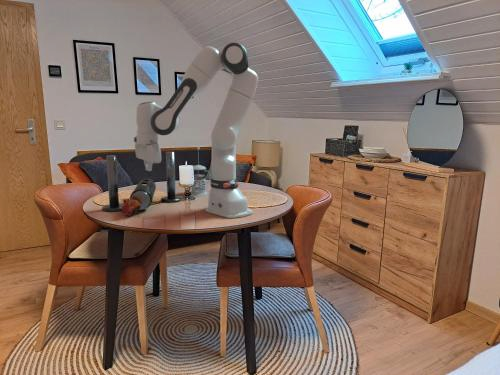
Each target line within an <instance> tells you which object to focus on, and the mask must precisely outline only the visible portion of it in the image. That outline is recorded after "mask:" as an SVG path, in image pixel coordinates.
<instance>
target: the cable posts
mask: <svg viewBox="0 0 500 375" xmlns="http://www.w3.org/2000/svg"><path fill="white" fill-rule="evenodd" d="M105 158H106V172H107V186H108V188H107V189H108V201H109V203H108V204H106V205H103V206H102V211H103V212H106V213H117V212H123V210H122V207H123V205H124V204H123V203H120V200H119V198H120V197H119V184H118V183H119V181H118V168H117V167H118V166H117V155H113V154H111V155H106V157H105ZM165 160H166V161H165V163H166V166H165V167H166V168H165V169H166V196H163V197H161V198H160V201H161V200H162V201H163V202H162V201H161V202H162V203H167V204H172V203H173V204H174V203H179V202H181V201H182V199H183V198H182V196H178V195H176V164H175V163H176V161H175V151H166V152H165Z"/></svg>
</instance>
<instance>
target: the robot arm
mask: <svg viewBox="0 0 500 375" xmlns="http://www.w3.org/2000/svg"><path fill="white" fill-rule="evenodd" d="M248 56H249V55H248V52H247V49H246V47H245V46H243V45H242V44H241V43H238V42H235V41H234V42H230V43H229V42H228V43H227V44H226V45H225V46H224V47H223V48H222V50H218V49H217V48H215V47H213V46H209V45H208V46H205V47H203V48H202V49H201V50H200V51H199V52H198V53H197V54H196V56H195V57H194V58H193V60H192V61H191V63H190V64H189V66H188V67H187V69H186V70H185V72H184V75H183V77H182V79H181V80H180V83H179V85H178V87H177V89H176V91H174V93H173V94H172V96H171V98H170V99H169V100H168V101H167V103H166V104H165V105H164V106H160V105H159V104H157V102H155V101H145V102H142V103H139V104H138V105H137V107H136V116H135V118H136V120H135V121H136V126H137V130H136V136H134V137H133V143H134V150H135V157H136V158H137V159H140V160H143V164H144V167H145V171H148V172H152V171H153V169H152V168H153V165H154V164H160V163H161V162H162V150H161V147H160V145H159V135H160V136H167V135H168V136H169V135H170V134H172V133H173V132H175V131H176V130H177V129H178V128H179V126H180V118H179V115H180V114H181V112H182V111H183V109H184V108H185V106H186V105H187V104H188V102H189V101H191V99H192V98H193V97H194V96H196V95H198V94H199V93H202V92H203V91H204V90H206V88H207V87H208V86H209V85H210V83H211V82H212V81H213V79H214V78H215V76H216V75H217V74H218V72H219V71H223V72H226V73H228V74H232V81H231V85H230V87H229V89H228V91H227V94H226V96H225V98H224V100H223V104H222V106H221V109H220V111H219V113H218V116H217V118H216V121H215V124H214V126H213V129H212V131H211V136H210V139H211V172H210V174H211V180H209V183H210V190H209V192H208V196H207V207H206V208H205V212H207V213H210V214H213V215H216V216H220V217H224V218H228V219H233V218H234V219H236V218H242V217H246V216H250V215H252V214H254V211H253V210H252V209H250V208H249V207H248V199H247V197H246V196H245V195H244V194H243V193H242V191H241V190H240V188H239V185H240V184H239V183H240V182H239V181H238V179H237V169H236V168H237V150H236V149H237V147H236V145H237V144H236V143H237V141H238V137H239V135H240V133H241V130H242V127H243V125H244V122H245V119H246V117H247V115H248V111H249V109H250V107H251V104H252V101H253V99H254V97H255V94H256V92H257V91H256V90H257V87H258V83H259V75H258V74H257V73H256V72H255V71H254V70H253V69H251V68H250V67H249V66H250V65H249V57H248Z"/></svg>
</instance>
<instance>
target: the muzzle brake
mask: <svg viewBox="0 0 500 375" xmlns="http://www.w3.org/2000/svg"><path fill="white" fill-rule="evenodd" d="M156 188H157V185H156V182H155V181H154V180H153V179H151V178H148V177H147V178H145V177H144V178H142V179H141V180H139V182H138V183H137V185H136V187H135V188H134V189H133V191H132V192H131V193H130V197H129V200H130V199H134V200H137V201H138V202H139V203H140V204H141V206H140V209H139V210H138V211H140V210H147V209H148V208H150V206H152V204H153V199H154V194H155V192H156V190H157V189H156Z"/></svg>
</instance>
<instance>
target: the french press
mask: <svg viewBox="0 0 500 375" xmlns="http://www.w3.org/2000/svg"><path fill="white" fill-rule="evenodd" d="M196 150H197V151H198V152H197V158H198V159H197V160H198V161H197V163H198V164H197V165H193V166H192V167H193V168H194V170H193V171H197V173H196V174H193V175H194V180H195V181H194V185H193V186H192V187H191V189H190V190H191V191H190V192H191V194H190V195H192V196H204V195H207V194H208V191H207V184H209V183H210V181H211V178H212V174H211V172H210V170H209V171H208V170H207V168H206V166H203V165H201V164H200V161H199V150H201V147H199V146H197V147H196ZM200 171H205V172H206V173H208V175H209V178H208V180H206V179H207V178H206V174H202V173H201V174H200V173H199V172H200Z"/></svg>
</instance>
